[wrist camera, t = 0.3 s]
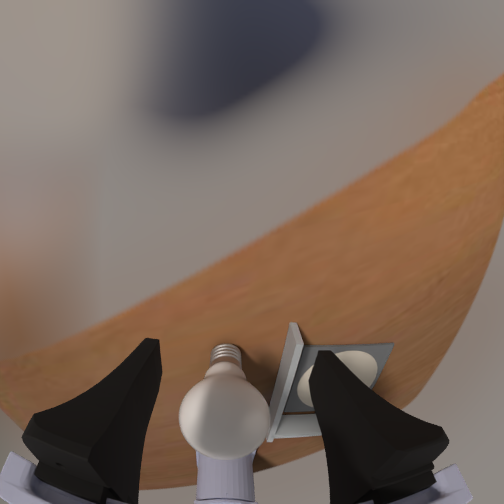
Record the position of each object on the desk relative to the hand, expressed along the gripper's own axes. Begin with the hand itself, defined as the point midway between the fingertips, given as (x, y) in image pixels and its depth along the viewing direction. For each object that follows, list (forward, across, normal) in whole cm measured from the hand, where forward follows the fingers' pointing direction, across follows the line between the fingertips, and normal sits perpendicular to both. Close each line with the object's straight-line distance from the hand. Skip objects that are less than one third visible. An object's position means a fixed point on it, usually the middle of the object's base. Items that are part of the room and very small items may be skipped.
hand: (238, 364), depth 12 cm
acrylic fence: (+10, -11, +12) cm, 19 cm away
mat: (+10, -12, +12) cm, 20 cm away
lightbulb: (+11, 0, +8) cm, 13 cm away
